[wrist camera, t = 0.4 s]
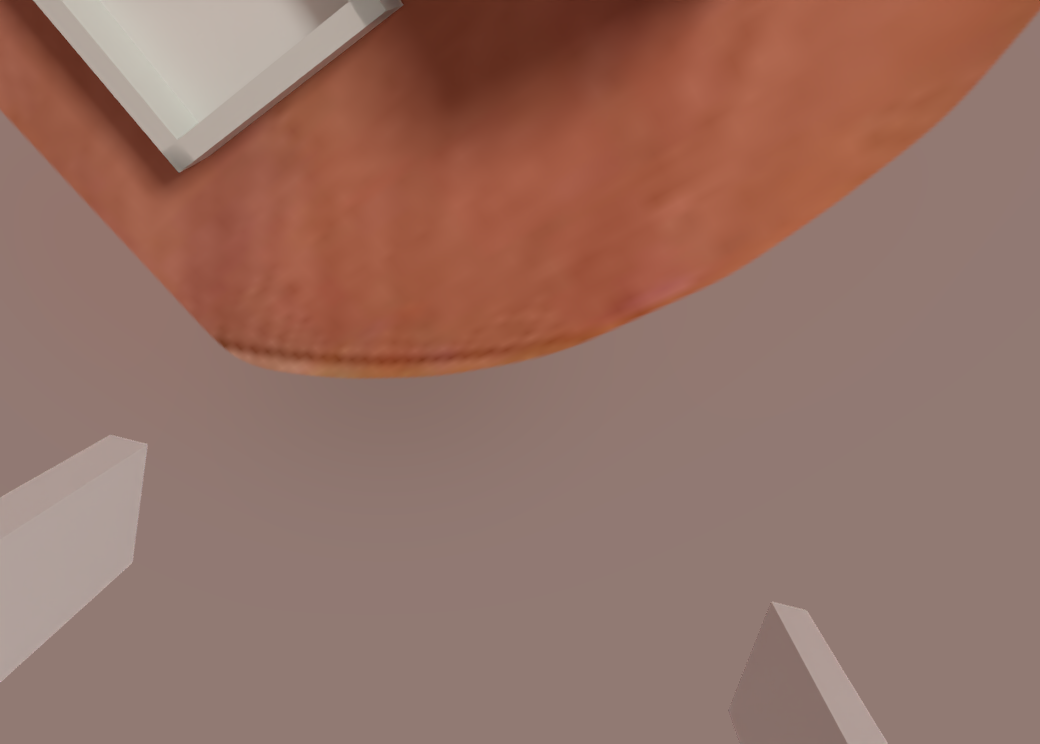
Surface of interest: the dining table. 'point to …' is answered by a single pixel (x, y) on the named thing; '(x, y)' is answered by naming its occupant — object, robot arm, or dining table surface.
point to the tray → (208, 58)
